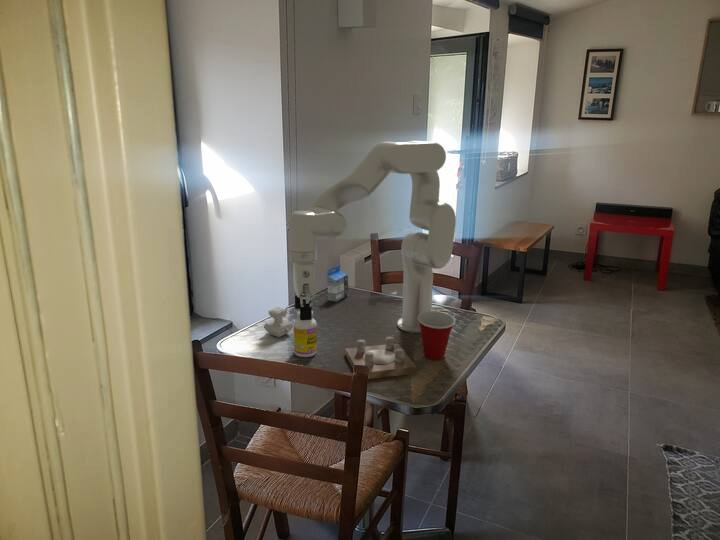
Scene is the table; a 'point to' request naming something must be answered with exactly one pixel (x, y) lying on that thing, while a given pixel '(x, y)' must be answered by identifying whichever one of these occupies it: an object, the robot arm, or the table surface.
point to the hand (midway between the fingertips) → (303, 313)
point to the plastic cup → (435, 333)
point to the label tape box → (337, 284)
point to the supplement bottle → (305, 337)
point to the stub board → (381, 359)
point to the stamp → (278, 323)
